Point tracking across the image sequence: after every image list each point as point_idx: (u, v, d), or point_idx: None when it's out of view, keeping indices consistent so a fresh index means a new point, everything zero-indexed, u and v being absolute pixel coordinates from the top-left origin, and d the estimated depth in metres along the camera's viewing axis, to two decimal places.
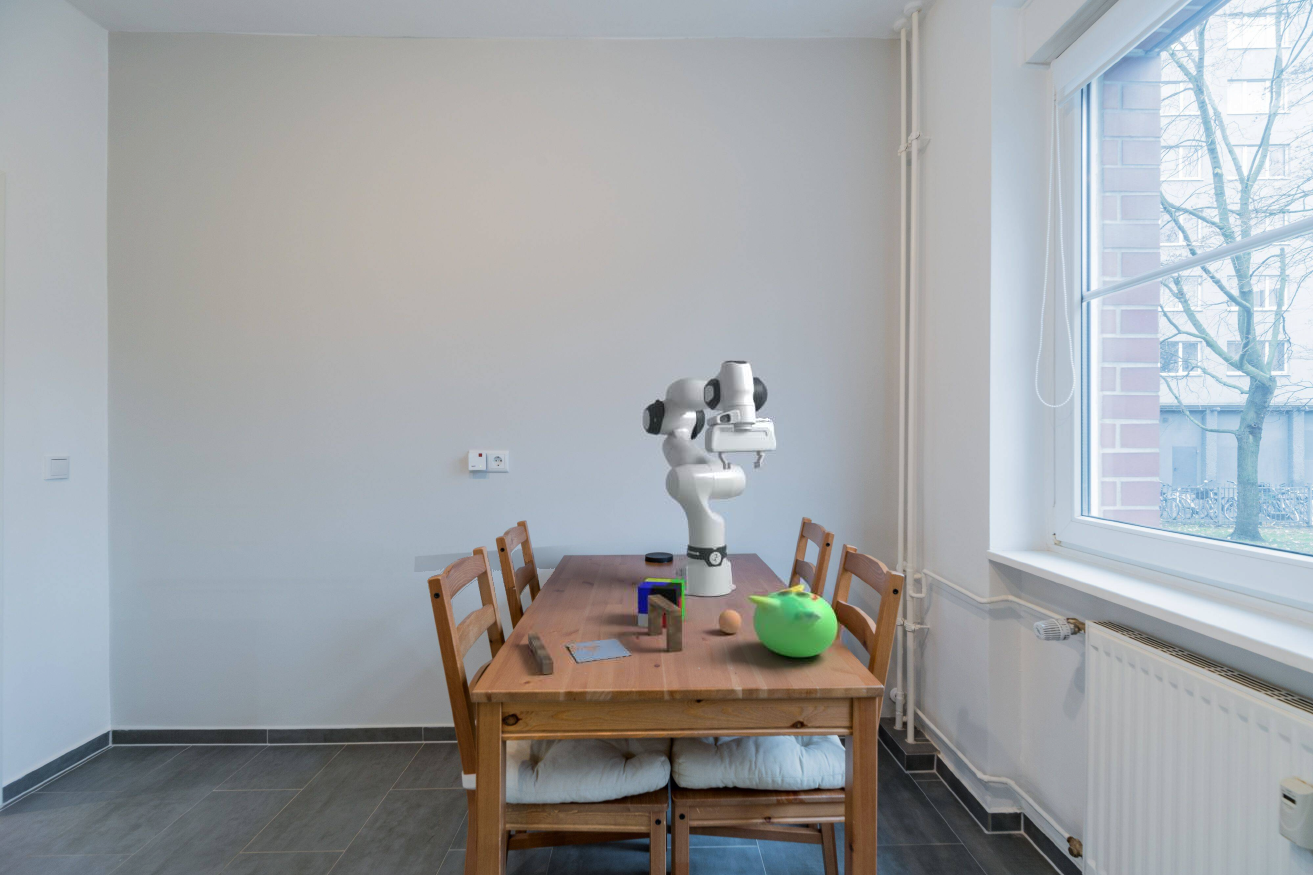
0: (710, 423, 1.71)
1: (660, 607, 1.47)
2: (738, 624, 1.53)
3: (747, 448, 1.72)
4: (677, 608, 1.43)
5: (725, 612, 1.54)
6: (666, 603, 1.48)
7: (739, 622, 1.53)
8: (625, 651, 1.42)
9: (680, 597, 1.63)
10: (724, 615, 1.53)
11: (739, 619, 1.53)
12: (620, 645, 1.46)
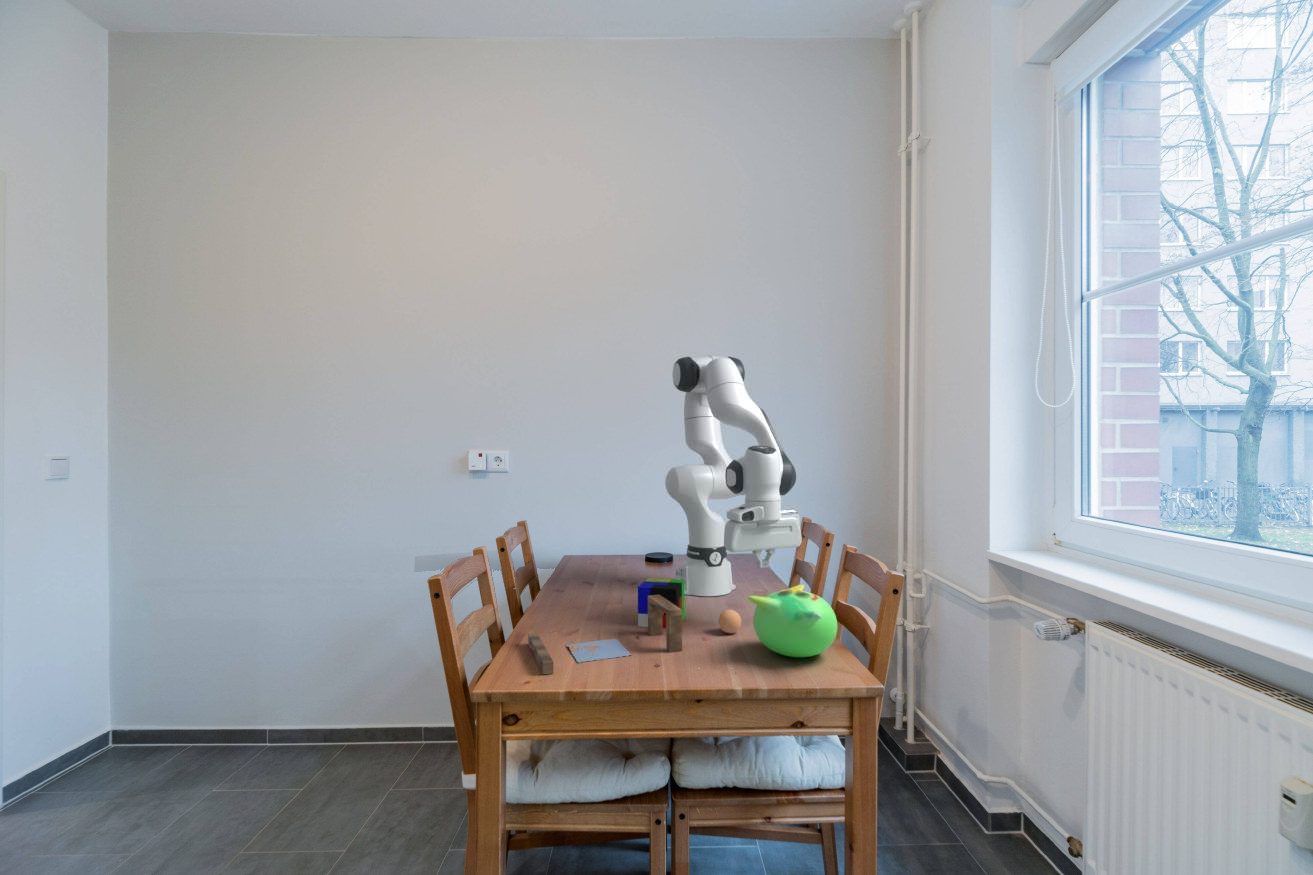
0: (731, 518, 1.55)
1: (660, 607, 1.47)
2: (738, 624, 1.53)
3: (770, 546, 1.56)
4: (677, 608, 1.43)
5: (725, 612, 1.54)
6: (666, 603, 1.48)
7: (739, 622, 1.53)
8: (625, 651, 1.42)
9: (680, 597, 1.63)
10: (724, 615, 1.53)
11: (739, 619, 1.53)
12: (620, 645, 1.46)
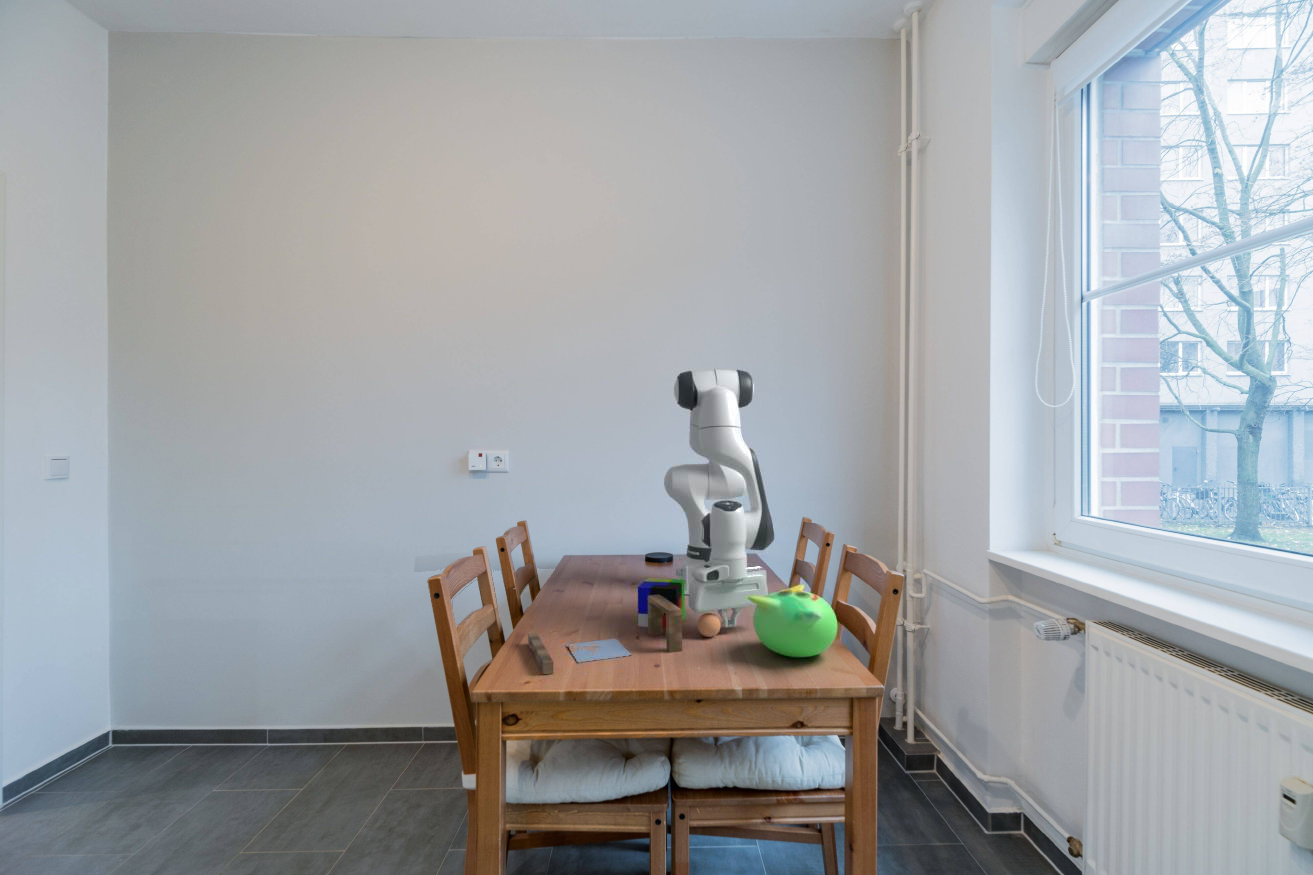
0: (695, 577, 1.51)
1: (660, 607, 1.47)
2: (714, 624, 1.50)
3: (736, 605, 1.53)
4: (677, 608, 1.43)
5: (700, 631, 1.51)
6: (666, 603, 1.48)
7: (713, 622, 1.50)
8: (625, 651, 1.42)
9: (680, 597, 1.63)
10: (703, 634, 1.51)
11: (710, 622, 1.50)
12: (620, 645, 1.46)
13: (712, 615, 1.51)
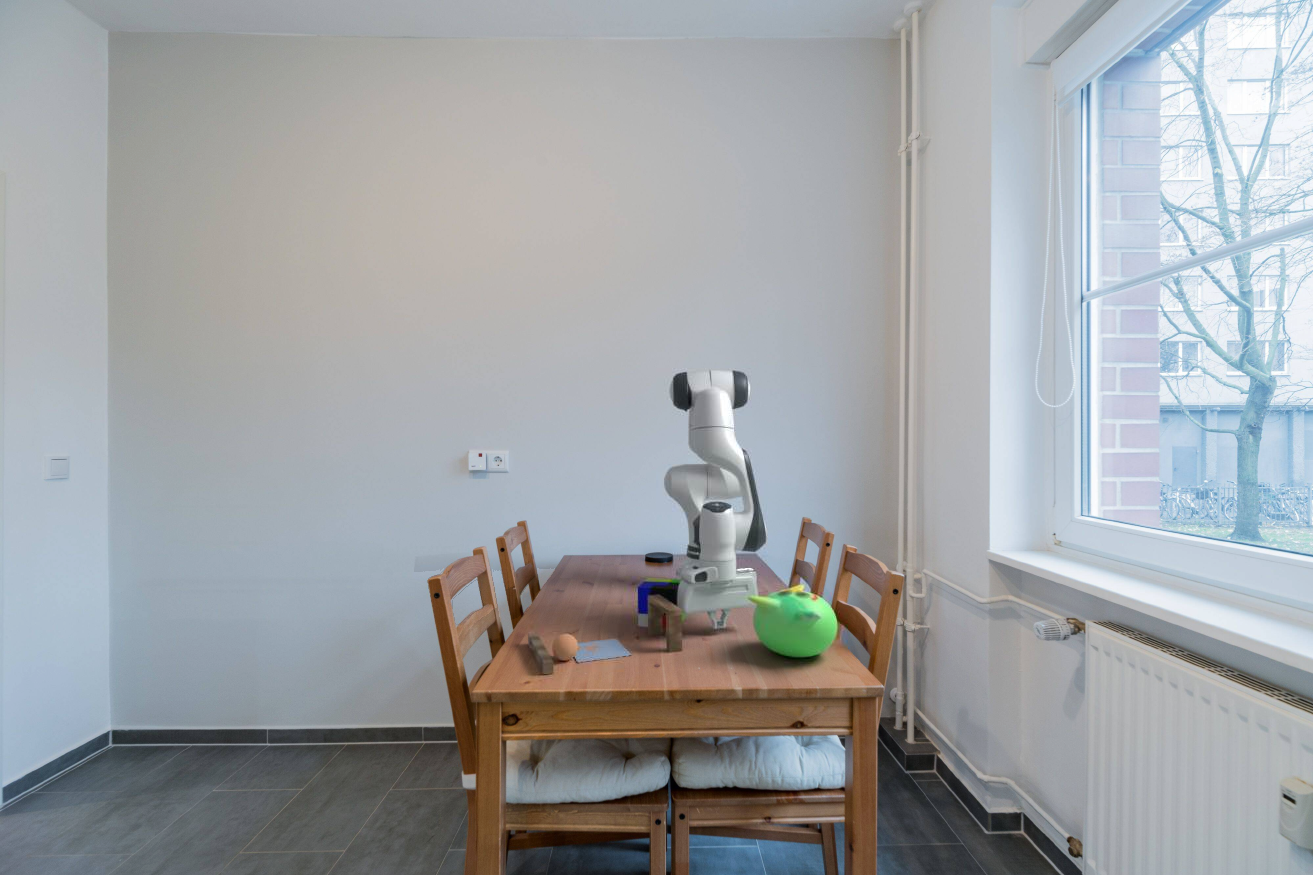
0: (684, 578, 1.51)
1: (660, 607, 1.47)
2: (567, 648, 1.35)
3: (725, 606, 1.52)
4: (677, 608, 1.43)
5: None
6: (666, 603, 1.48)
7: (564, 647, 1.35)
8: (625, 651, 1.42)
9: None
10: None
11: (561, 648, 1.35)
12: (620, 645, 1.46)
13: (563, 638, 1.36)
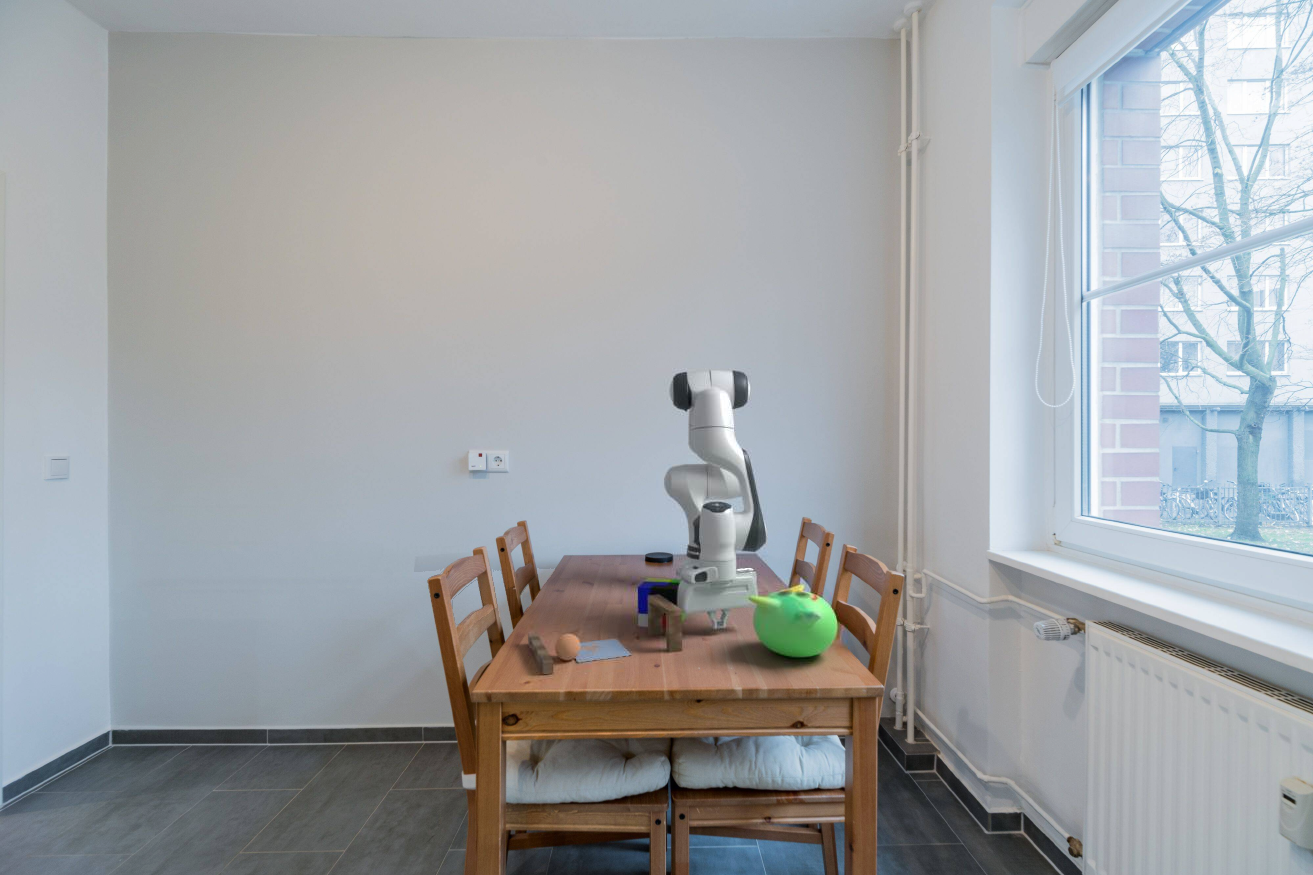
0: (684, 578, 1.51)
1: (660, 607, 1.47)
2: (570, 648, 1.35)
3: (725, 606, 1.52)
4: (677, 608, 1.43)
5: (558, 656, 1.37)
6: (666, 603, 1.48)
7: (568, 647, 1.35)
8: (625, 651, 1.42)
9: None
10: None
11: (564, 647, 1.35)
12: (620, 645, 1.46)
13: (567, 637, 1.37)
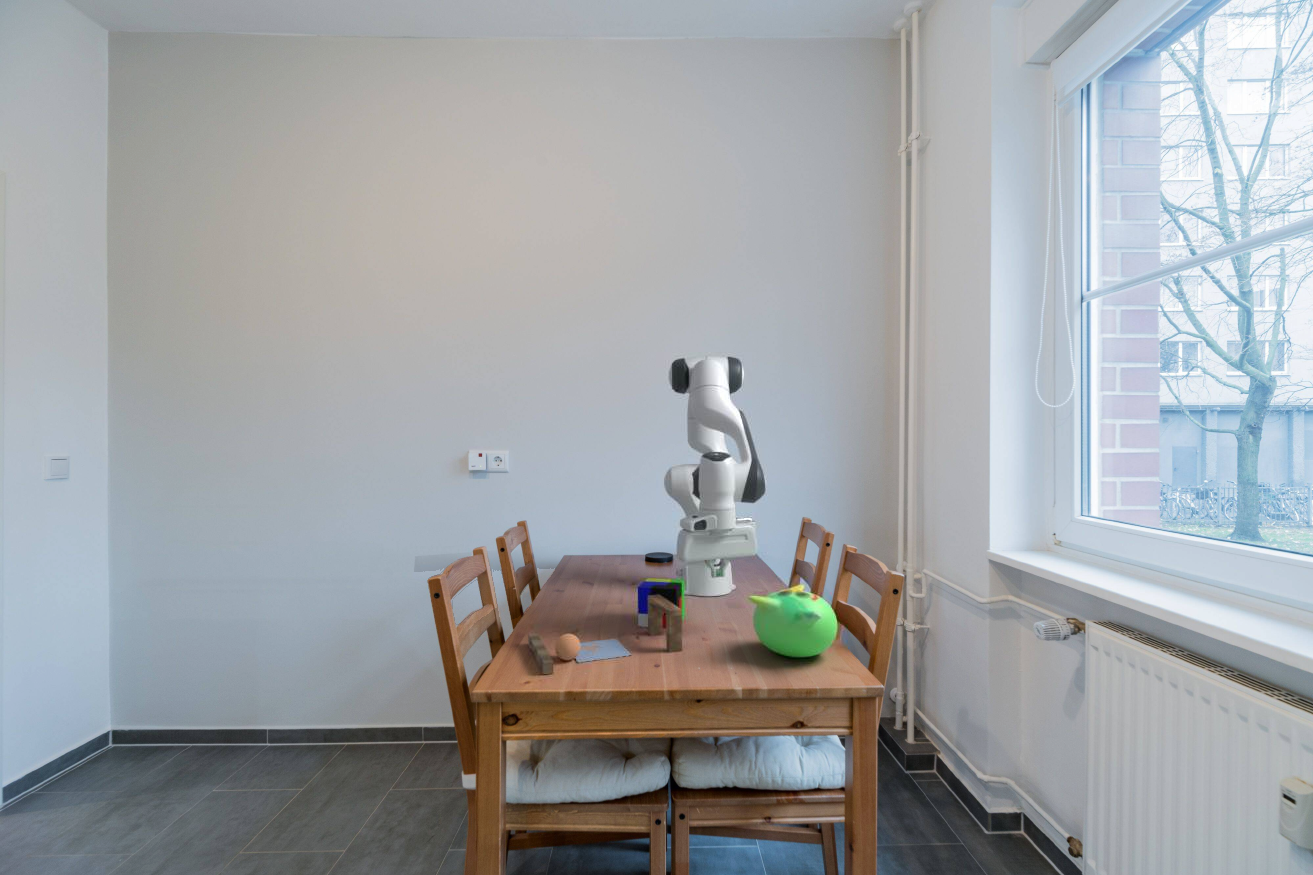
0: (683, 527, 1.51)
1: (660, 607, 1.47)
2: (570, 648, 1.35)
3: (724, 555, 1.52)
4: (677, 608, 1.43)
5: (558, 656, 1.37)
6: (666, 603, 1.48)
7: (568, 647, 1.35)
8: (625, 651, 1.42)
9: (680, 597, 1.63)
10: None
11: (564, 647, 1.35)
12: (620, 645, 1.46)
13: (567, 637, 1.37)
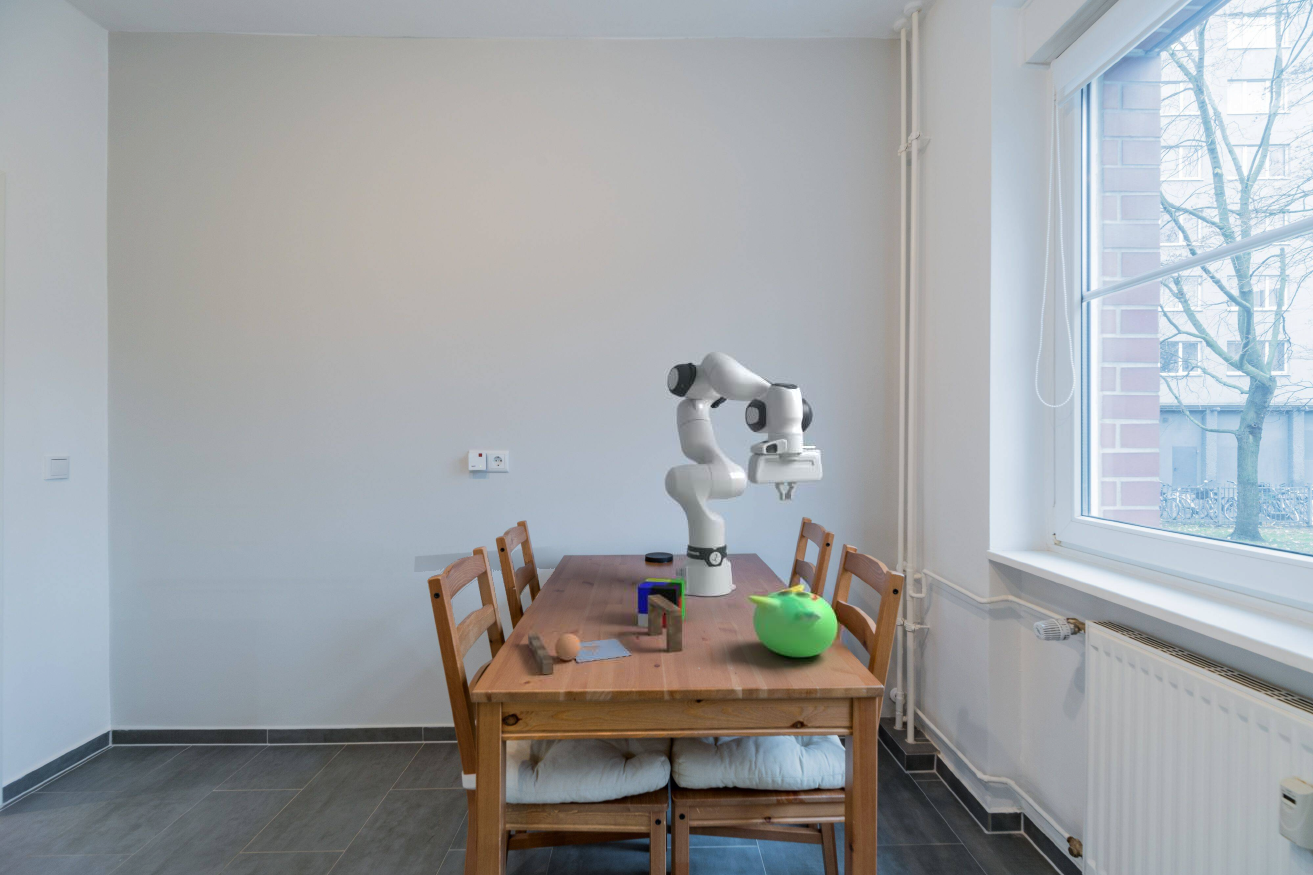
0: (755, 452, 1.61)
1: (660, 607, 1.47)
2: (570, 648, 1.35)
3: (793, 479, 1.62)
4: (677, 608, 1.43)
5: (558, 656, 1.37)
6: (666, 603, 1.48)
7: (568, 647, 1.35)
8: (625, 651, 1.42)
9: (680, 597, 1.63)
10: None
11: (564, 647, 1.35)
12: (620, 645, 1.46)
13: (567, 637, 1.37)
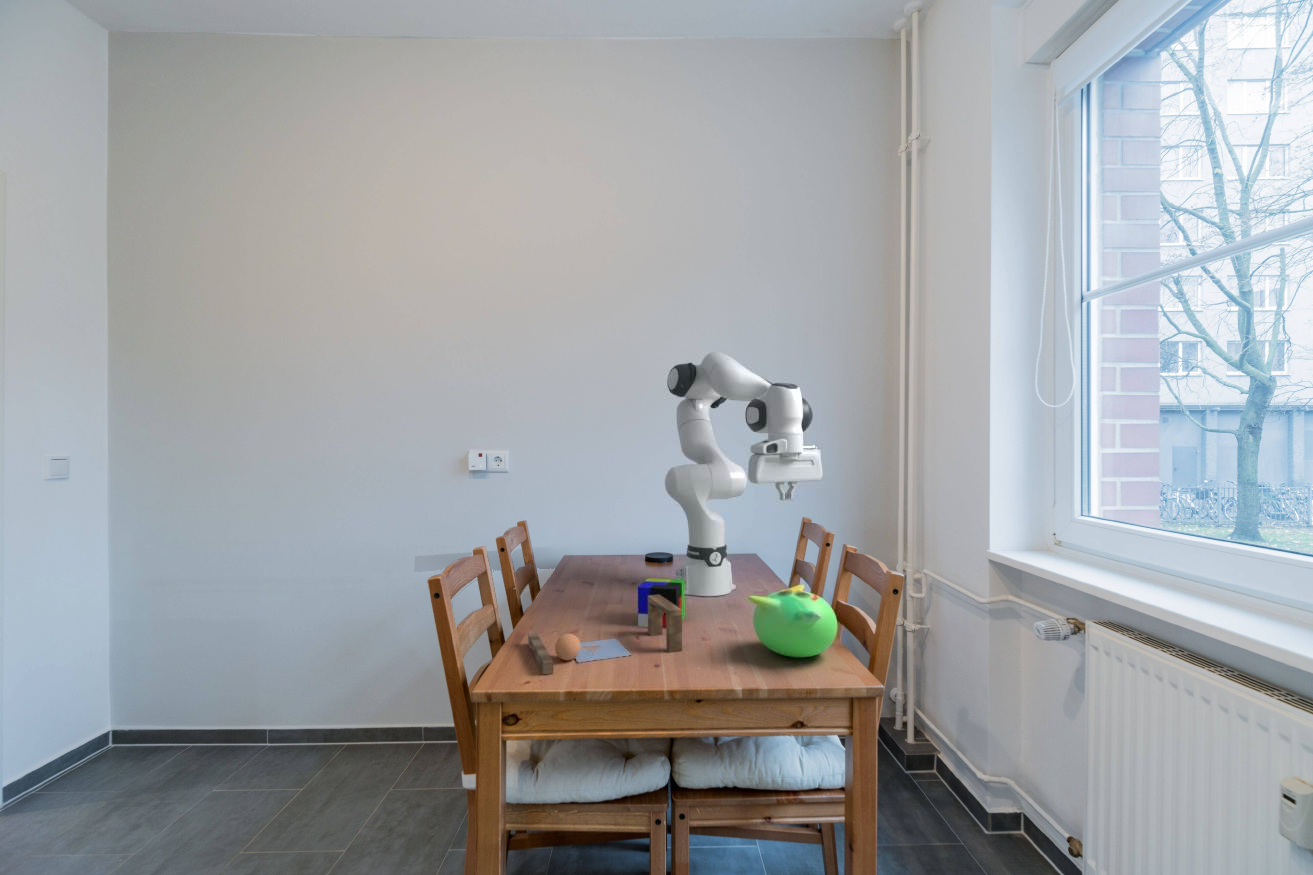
0: (755, 451, 1.61)
1: (660, 607, 1.47)
2: (570, 648, 1.35)
3: (793, 479, 1.62)
4: (677, 608, 1.43)
5: (558, 656, 1.37)
6: (666, 603, 1.48)
7: (568, 647, 1.35)
8: (625, 651, 1.42)
9: (680, 597, 1.63)
10: None
11: (564, 647, 1.35)
12: (620, 645, 1.46)
13: (567, 637, 1.37)
